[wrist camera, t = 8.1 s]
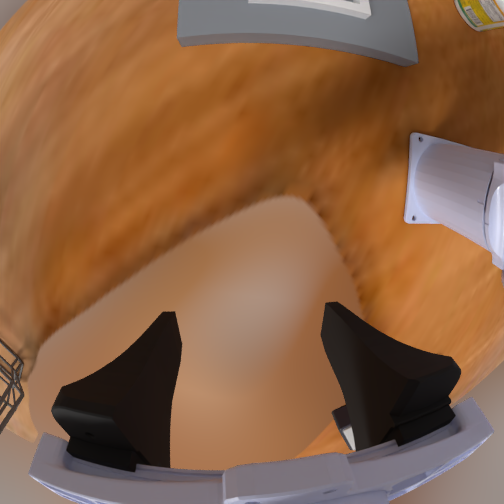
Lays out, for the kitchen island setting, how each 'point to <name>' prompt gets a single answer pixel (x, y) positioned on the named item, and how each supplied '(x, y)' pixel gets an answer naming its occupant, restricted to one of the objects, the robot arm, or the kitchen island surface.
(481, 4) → the supplement bottle
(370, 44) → the display plinth
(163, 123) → the kitchen island surface
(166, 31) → the kitchen island surface
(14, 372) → the geometric lantern
